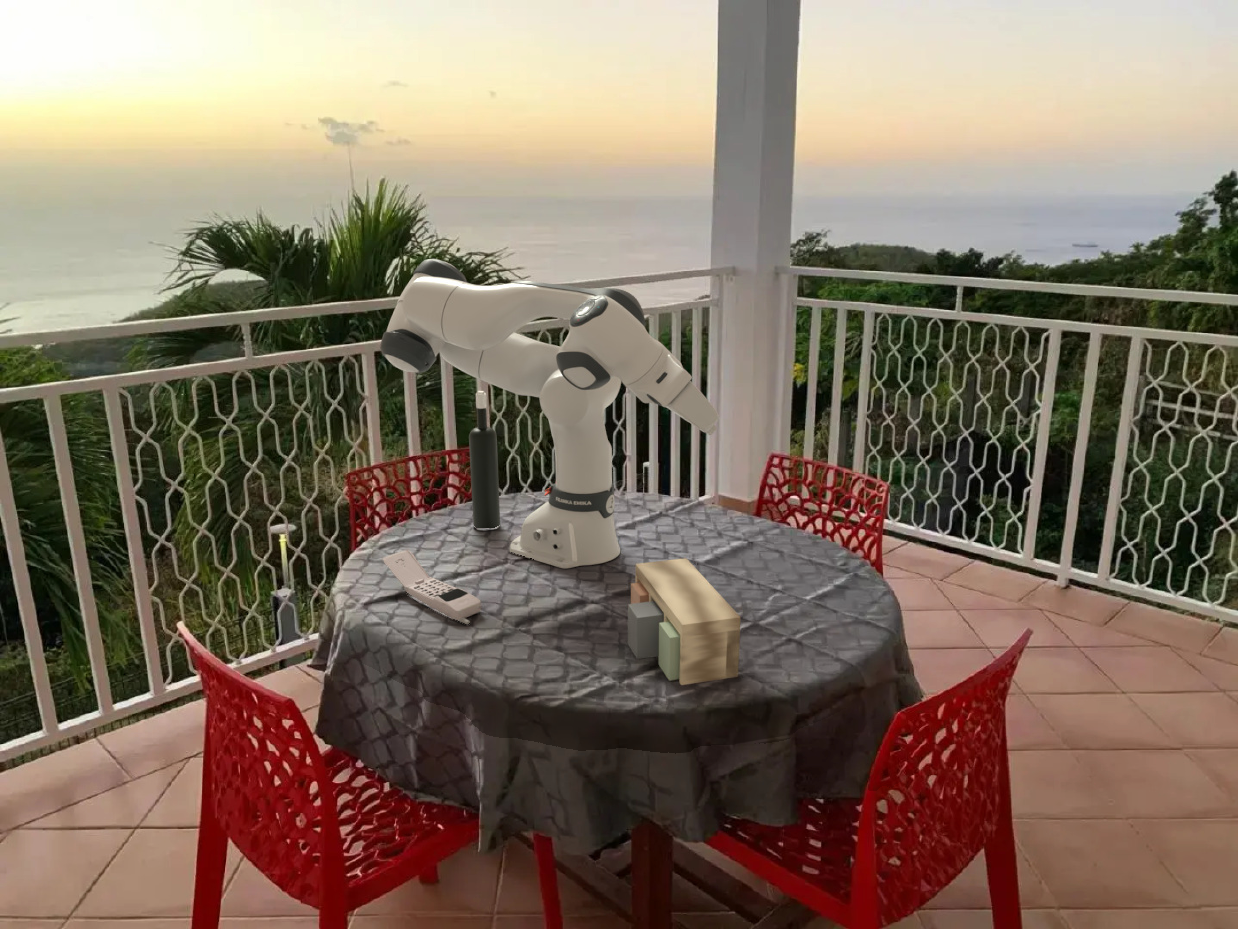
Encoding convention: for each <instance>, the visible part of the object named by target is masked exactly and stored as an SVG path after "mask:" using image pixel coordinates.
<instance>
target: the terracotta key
mask: <svg viewBox="0 0 1238 929" xmlns="http://www.w3.org/2000/svg"><path fill="white" fill-rule="evenodd" d="M642 602H649V592H648V591H647V590H646V588H645V587H644V586H643V584H642V583H641V582H639V583H635V582H633V583H630V604H634V603H642Z"/></svg>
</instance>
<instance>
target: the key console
mask: <svg viewBox="0 0 1238 929" xmlns="http://www.w3.org/2000/svg"><path fill="white" fill-rule="evenodd" d="M634 580H635V582H634V583H639V582H641V583H642V584H643V586H644V587H645V588H646V590H647V591H648V592H649V602H650V601H655V602H656V603H657V604H658V606H659V607H660V608H661V610H662V611H663V612H664V622H671V623H672V624H673V626H674V627H675V628H676V630H677V631H678V632H679V634H680V679H678V680H679V683H678V684H680V685H681V686H684V685H691V684H698V683H699V684H700V683H703V682H704V683H705V682H711V681H719V680H725V679H731V678H737V677H739V666H740V664H739V662H740V644H741V642H740V639H741V616H740V614H738V613H737V612H736V611H735V609H734V608H733V607H732V606H731V605H730V604H729V603H728V602H727V601H726V600H725V598H724V597H723V596H722V595H721V594H720V593H719V592H718V591H717V590H716V589H715V587H713V586H712V584H711V583H709V581H708V580H707V579H706V578H705V577H704V576H703V575H702V573H700V571H699V570H698V569H697V568H696V567H695V565H693V563H692V562H691V561H689V560H688V558H687V557H683V558H676V559H667V560H666V559H665V560H659V561H650V562H641V563H635V579H634Z"/></svg>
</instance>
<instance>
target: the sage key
mask: <svg viewBox="0 0 1238 929" xmlns="http://www.w3.org/2000/svg"><path fill="white" fill-rule="evenodd" d="M658 665H659V667H660V669H661V670H662V672H663V674H664V675H665V677H666V678H667V679H668V681H675V680H676V681H677V680H679V679H680V634H679V632H678V631H677V630H676V628H675V627H674V626H673V624H672V623H671V622H662V623H659V656H658Z"/></svg>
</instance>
